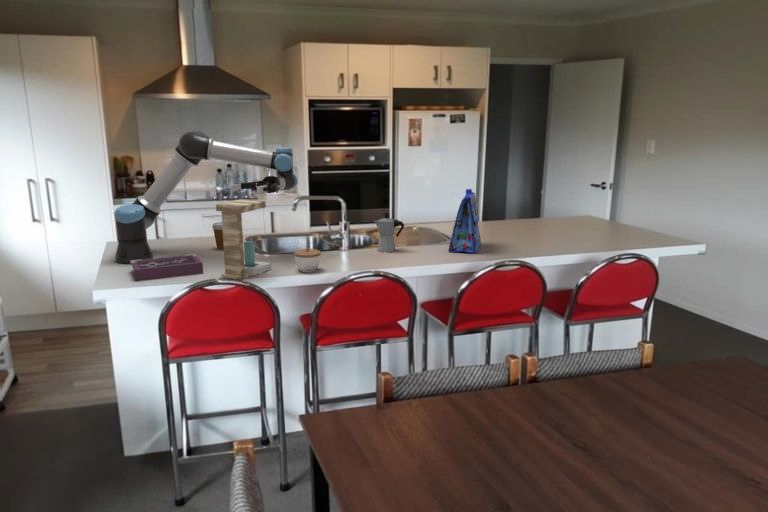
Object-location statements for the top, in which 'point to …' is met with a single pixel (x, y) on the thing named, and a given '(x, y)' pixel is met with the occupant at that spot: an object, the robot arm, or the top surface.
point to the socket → (257, 268)
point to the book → (166, 267)
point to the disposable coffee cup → (218, 235)
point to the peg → (249, 254)
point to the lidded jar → (307, 259)
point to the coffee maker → (387, 233)
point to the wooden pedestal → (235, 234)
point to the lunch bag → (466, 226)
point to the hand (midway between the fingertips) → (243, 189)
